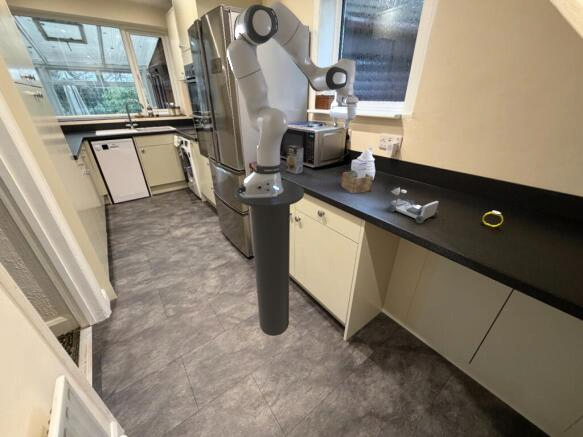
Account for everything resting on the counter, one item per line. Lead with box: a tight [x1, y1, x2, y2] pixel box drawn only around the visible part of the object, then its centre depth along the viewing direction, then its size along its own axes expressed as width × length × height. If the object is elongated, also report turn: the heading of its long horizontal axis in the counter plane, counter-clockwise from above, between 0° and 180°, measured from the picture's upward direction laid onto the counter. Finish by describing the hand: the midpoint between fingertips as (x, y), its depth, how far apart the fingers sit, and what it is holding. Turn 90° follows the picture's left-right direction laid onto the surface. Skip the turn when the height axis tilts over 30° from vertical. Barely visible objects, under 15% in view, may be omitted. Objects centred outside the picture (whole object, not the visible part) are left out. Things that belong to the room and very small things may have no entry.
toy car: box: [388, 186, 440, 224], centre depth 98 cm, size 18×10×12 cm
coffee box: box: [286, 144, 304, 175], centre depth 148 cm, size 9×6×16 cm
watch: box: [481, 210, 504, 228], centre depth 90 cm, size 6×3×6 cm, turn 48°
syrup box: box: [350, 158, 367, 178], centre depth 121 cm, size 6×6×14 cm
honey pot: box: [356, 146, 376, 181], centre depth 138 cm, size 13×13×18 cm
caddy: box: [340, 171, 374, 194], centre depth 123 cm, size 11×11×8 cm
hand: (340, 128), depth 121 cm, fingers open, 8 cm apart
